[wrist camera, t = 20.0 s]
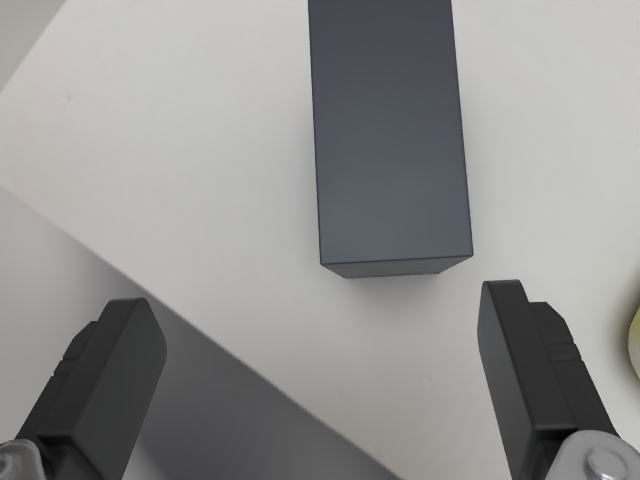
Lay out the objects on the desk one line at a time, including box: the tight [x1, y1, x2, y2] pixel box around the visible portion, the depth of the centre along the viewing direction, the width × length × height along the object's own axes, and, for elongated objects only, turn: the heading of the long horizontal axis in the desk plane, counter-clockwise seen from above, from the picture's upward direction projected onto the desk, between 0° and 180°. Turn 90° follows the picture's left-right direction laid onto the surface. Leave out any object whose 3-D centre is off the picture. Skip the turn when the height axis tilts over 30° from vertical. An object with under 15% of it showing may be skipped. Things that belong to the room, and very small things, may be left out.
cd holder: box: [308, 0, 473, 278], centre depth 22 cm, size 10×5×10 cm, turn 3°
